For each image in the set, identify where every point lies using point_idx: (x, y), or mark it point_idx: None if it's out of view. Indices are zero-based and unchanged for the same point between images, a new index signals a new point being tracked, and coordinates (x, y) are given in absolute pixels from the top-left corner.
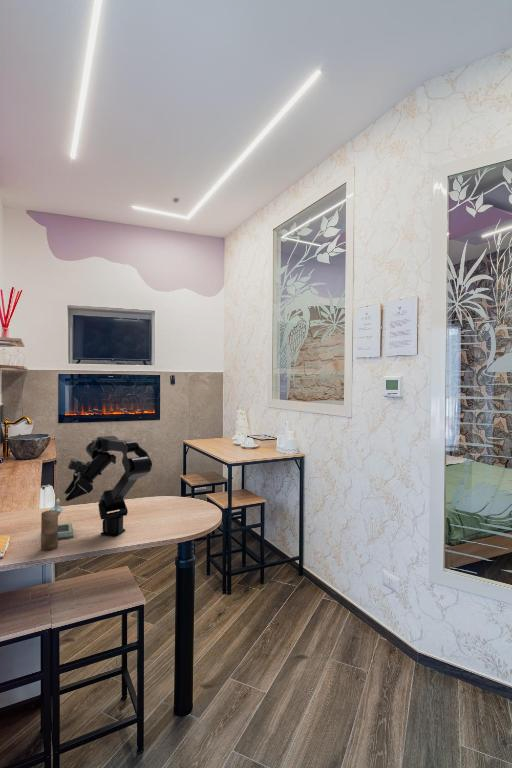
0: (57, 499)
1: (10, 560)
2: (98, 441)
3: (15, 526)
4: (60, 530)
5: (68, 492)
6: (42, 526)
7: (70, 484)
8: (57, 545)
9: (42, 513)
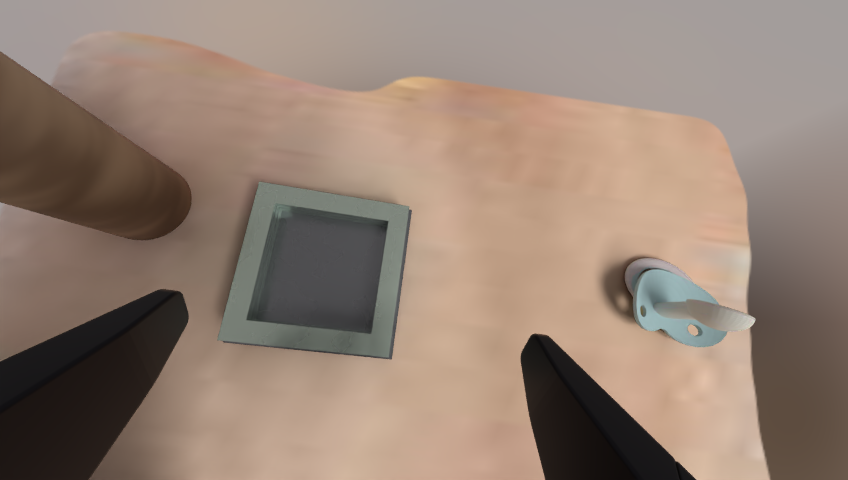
0: (737, 316)
1: (109, 42)
2: None
3: (532, 123)
4: (359, 287)
5: (529, 387)
6: None
7: (634, 477)
8: (126, 237)
9: None
